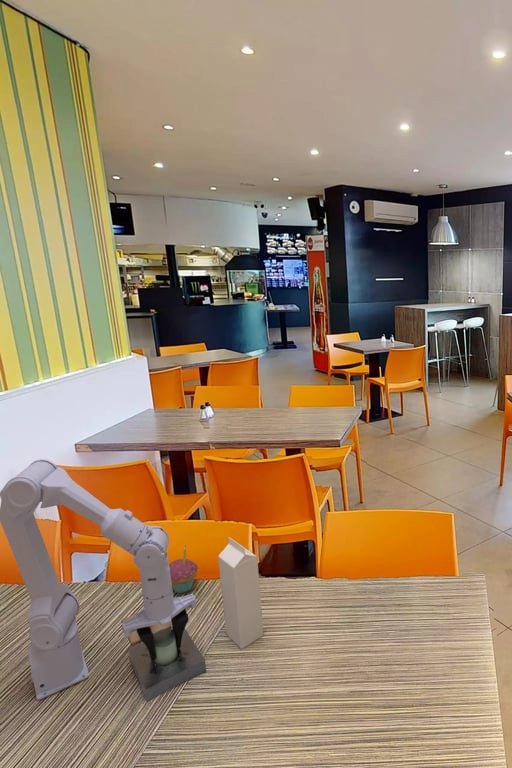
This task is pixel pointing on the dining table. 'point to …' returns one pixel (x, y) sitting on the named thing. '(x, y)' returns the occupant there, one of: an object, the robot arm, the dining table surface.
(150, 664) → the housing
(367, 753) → the dining table surface
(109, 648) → the dining table surface
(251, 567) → the milk
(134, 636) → the coaster
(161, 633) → the cylinder
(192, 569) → the cupcake
